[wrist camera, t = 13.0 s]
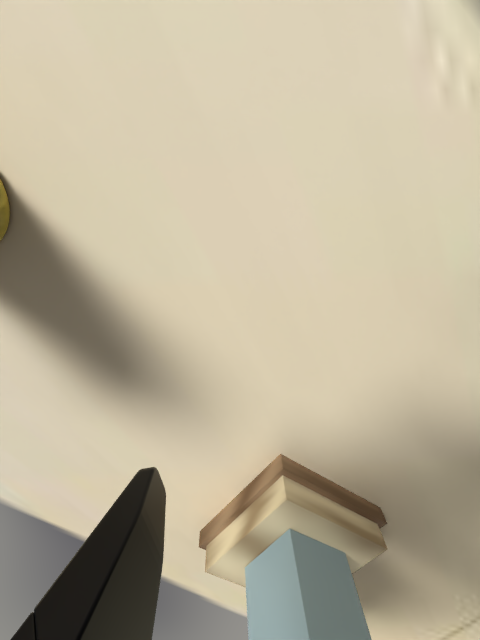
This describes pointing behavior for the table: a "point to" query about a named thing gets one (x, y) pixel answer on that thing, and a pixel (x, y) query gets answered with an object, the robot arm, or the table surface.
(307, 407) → the table surface
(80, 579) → the robot arm
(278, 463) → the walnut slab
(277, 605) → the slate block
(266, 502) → the birch slab
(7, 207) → the vase
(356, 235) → the table surface
